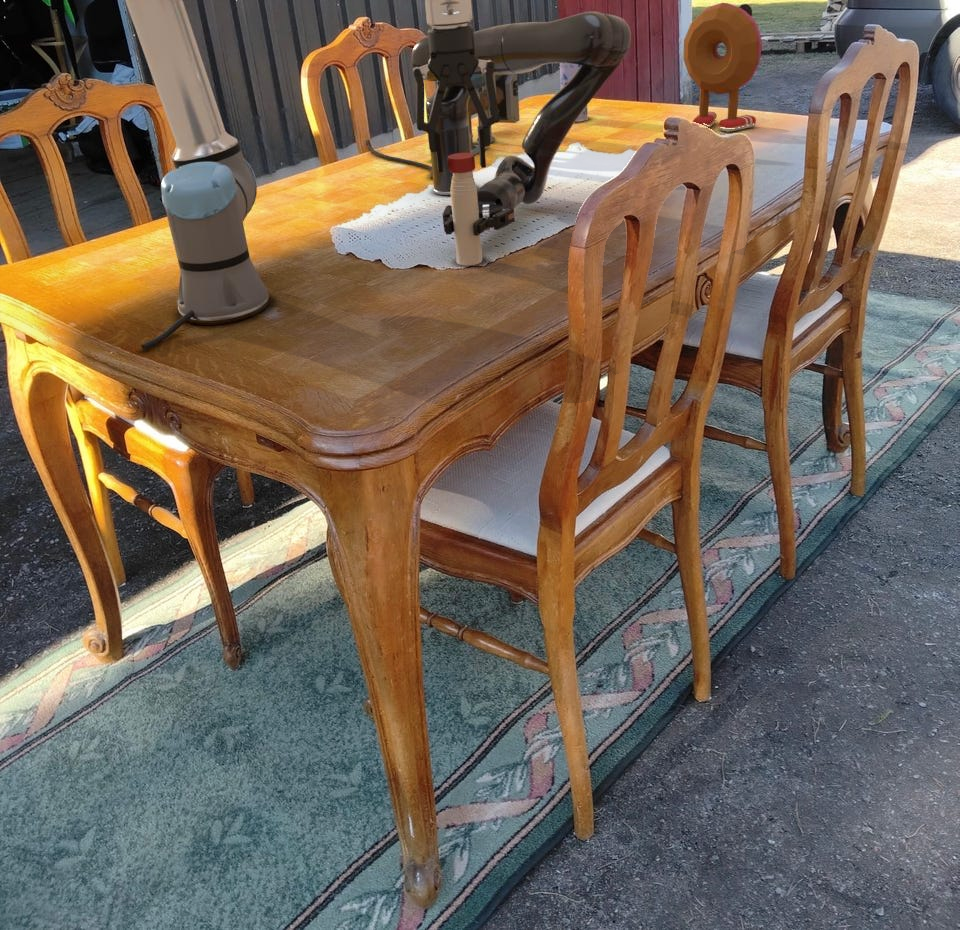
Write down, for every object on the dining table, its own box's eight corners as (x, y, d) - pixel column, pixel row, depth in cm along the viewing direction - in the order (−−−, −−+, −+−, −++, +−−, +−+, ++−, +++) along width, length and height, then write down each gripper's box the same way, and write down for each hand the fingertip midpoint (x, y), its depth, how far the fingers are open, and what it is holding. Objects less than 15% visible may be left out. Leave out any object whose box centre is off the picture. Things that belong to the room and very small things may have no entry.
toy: (766, 126, 252) (776, -1, 237) (746, 134, 246) (755, 5, 231) (696, 119, 265) (700, -1, 250) (675, 127, 259) (678, 4, 244)
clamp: (458, 163, 243) (450, 72, 232) (428, 161, 247) (419, 72, 236) (520, 131, 269) (515, 49, 258) (492, 130, 273) (487, 49, 262)
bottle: (467, 255, 181) (459, 154, 172) (487, 259, 178) (480, 157, 169) (451, 263, 178) (441, 161, 169) (471, 267, 175) (462, 163, 166)
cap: (475, 172, 168) (474, 157, 166) (448, 174, 168) (447, 160, 166) (475, 165, 172) (474, 151, 170) (448, 167, 172) (447, 153, 170)
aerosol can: (559, 122, 275) (557, 47, 265) (562, 117, 282) (559, 42, 272) (587, 121, 274) (585, 45, 263) (589, 115, 280) (587, 41, 270)
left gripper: (390, 33, 154) (406, 179, 166) (513, 22, 155) (520, 167, 167) (389, 28, 160) (404, 168, 172) (506, 17, 162) (514, 157, 173)
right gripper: (457, 182, 187) (422, 207, 173) (527, 183, 182) (497, 210, 168) (460, 220, 190) (426, 248, 177) (529, 223, 185) (500, 251, 172)
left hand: (461, 167), depth 169 cm, fingers open, 7 cm apart
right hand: (461, 229), depth 173 cm, fingers closed on bottle, 4 cm apart
